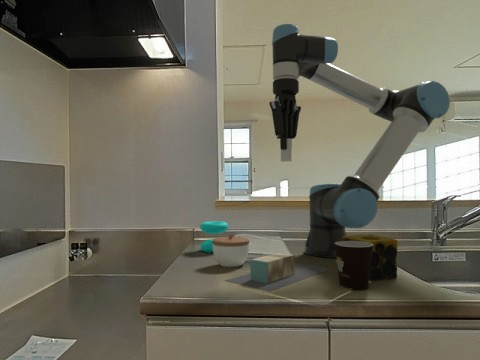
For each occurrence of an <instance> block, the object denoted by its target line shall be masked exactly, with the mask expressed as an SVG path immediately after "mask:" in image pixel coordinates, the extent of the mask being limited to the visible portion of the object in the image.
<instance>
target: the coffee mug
mask: <svg viewBox="0 0 480 360" xmlns="http://www.w3.org/2000/svg"><path fill="white" fill-rule="evenodd" d="M335 249H336V257H335V258H336V265H337V272H338V282H339V283H338V284H339V286H340V287H342V288H346V289H350V290H351V291H354V292H355V291H357V292H358V291H367V290H368V289H369V286H370V285H369V284H370V280H369V278H370V269H371V260H372V252H373V244H371V243H368V242H361V241H340V242H335Z"/></svg>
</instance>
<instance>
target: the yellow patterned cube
mask: <svg viewBox="0 0 480 360" xmlns="http://www.w3.org/2000/svg"><path fill="white" fill-rule="evenodd" d="M342 241H361V242H368V243H371V244H373V252H372V260H371V269H370V278H369V281H370V282H375V281H376V282H377V281H384V280H392V279H397V277H398V265H397V261H398V258H397V256H398V239H394V238H391V237H386V236H382V235H376V234H357V235H347V236H342Z"/></svg>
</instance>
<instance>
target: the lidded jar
mask: <svg viewBox="0 0 480 360" xmlns="http://www.w3.org/2000/svg"><path fill="white" fill-rule="evenodd" d="M211 240H212V243H213V256H214V257H213V258H214V259H215V261H216V262H217V264H219V266H222V267H224V268H237V267H240V266H242V265H243V264H244V263H245V262H246V260H247V259H248V255H249V250H250V249H249V247H250V245H249V244H250V239H249V238H247V237H241V236H233V233H228V236H221V237H215V238H213V239H211Z"/></svg>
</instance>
